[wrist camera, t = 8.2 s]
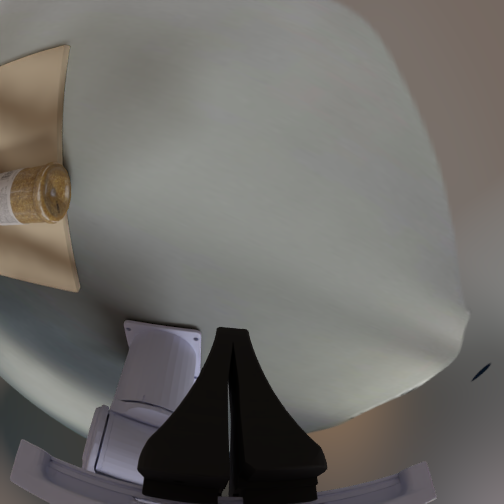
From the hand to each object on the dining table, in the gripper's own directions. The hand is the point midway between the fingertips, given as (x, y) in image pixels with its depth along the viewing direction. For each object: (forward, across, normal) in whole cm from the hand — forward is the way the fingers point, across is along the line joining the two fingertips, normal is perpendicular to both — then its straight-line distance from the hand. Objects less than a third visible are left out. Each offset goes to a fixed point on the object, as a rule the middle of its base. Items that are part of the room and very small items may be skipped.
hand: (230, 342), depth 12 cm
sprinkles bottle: (+7, +13, -4) cm, 15 cm away
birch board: (+10, +24, -4) cm, 26 cm away
